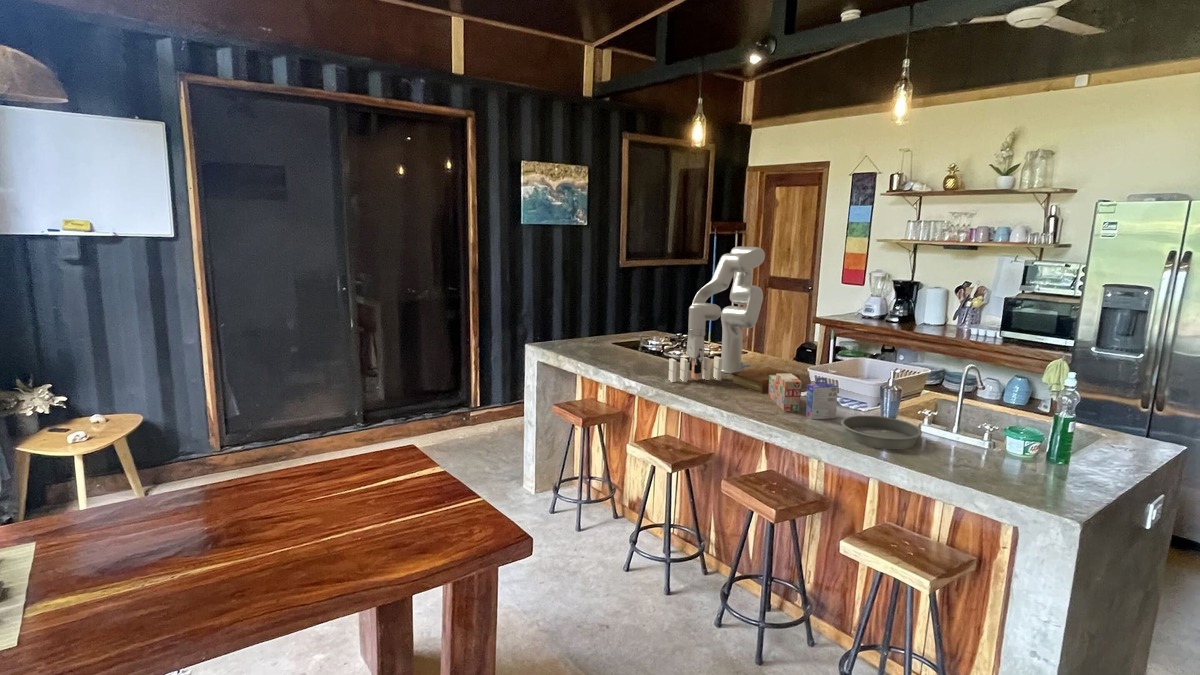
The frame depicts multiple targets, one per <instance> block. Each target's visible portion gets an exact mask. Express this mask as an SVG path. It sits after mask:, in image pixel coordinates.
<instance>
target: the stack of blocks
mask: <svg viewBox="0 0 1200 675" xmlns="http://www.w3.org/2000/svg"><path fill="white" fill-rule="evenodd" d="M802 383H803V381H801V379H800V380H799V379H798V378H797V377H795V376H794V375H792V374H776V375H769V392H767V393H768V394H767V395H768V396H769V397H770V398H771V399H772V400H773V401H774V402H775V403H776V404H777V405H778V406H779V407H780V408H781V409H782V410H783V411H799V412H800V410H801V409H800V407H801V396H802V385H803V384H802ZM769 397H768V398H769ZM770 398H769V399H770ZM771 399H770V400H771ZM772 400H771V401H772ZM773 401H772V402H773ZM774 402H773V403H774ZM775 403H774V404H775ZM776 404H775V405H776ZM777 405H776V406H777ZM778 406H777V407H778ZM779 407H778V408H779ZM780 408H779V409H780ZM781 409H780V410H781ZM782 410H781V411H782ZM783 411H782V412H783Z"/></svg>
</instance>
